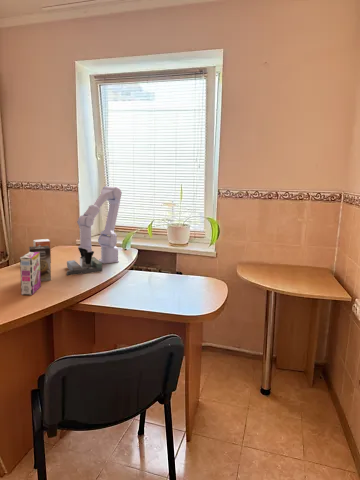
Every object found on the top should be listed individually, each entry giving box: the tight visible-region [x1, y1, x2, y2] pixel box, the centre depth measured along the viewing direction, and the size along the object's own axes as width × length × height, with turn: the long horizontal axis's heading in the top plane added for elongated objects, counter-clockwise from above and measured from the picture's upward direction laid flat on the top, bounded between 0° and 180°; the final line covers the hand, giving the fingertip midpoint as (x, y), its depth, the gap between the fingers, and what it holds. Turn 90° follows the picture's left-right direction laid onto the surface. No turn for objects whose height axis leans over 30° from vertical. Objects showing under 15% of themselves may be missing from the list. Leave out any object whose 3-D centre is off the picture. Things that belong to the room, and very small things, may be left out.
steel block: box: [79, 256, 92, 269], centre depth 181 cm, size 5×4×6 cm
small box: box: [32, 238, 52, 263], centre depth 187 cm, size 8×6×13 cm
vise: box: [66, 256, 103, 276], centre depth 178 cm, size 18×14×4 cm
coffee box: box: [28, 246, 52, 282], centre depth 159 cm, size 9×6×16 cm
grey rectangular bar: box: [66, 259, 82, 271], centre depth 176 cm, size 4×14×4 cm, turn 32°
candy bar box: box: [19, 251, 42, 296], centre depth 144 cm, size 11×5×16 cm, turn 5°
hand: (86, 262), depth 181 cm, fingers open, 7 cm apart
